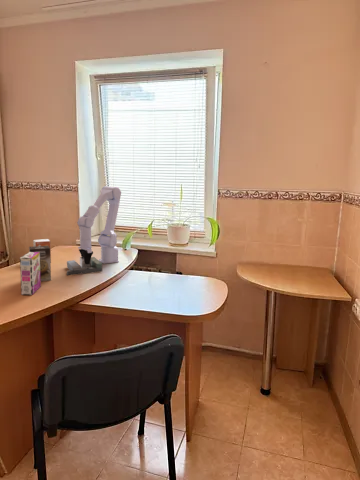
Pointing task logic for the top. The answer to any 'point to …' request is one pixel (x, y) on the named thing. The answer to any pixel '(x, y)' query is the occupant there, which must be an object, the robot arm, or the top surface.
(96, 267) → the vise
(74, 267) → the grey rectangular bar
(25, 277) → the candy bar box
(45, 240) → the small box
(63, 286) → the top surface
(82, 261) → the steel block
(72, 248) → the top surface
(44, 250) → the coffee box
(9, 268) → the top surface
